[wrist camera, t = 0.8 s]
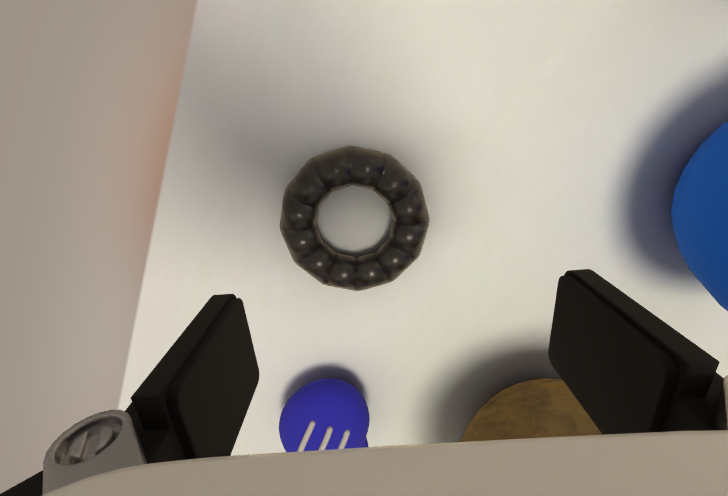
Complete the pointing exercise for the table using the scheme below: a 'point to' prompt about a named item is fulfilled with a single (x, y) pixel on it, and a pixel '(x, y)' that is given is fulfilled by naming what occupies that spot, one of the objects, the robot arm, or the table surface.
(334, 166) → the ring
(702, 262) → the vase
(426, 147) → the table surface
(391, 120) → the table surface
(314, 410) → the decorative object
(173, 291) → the table surface
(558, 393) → the clay pot
